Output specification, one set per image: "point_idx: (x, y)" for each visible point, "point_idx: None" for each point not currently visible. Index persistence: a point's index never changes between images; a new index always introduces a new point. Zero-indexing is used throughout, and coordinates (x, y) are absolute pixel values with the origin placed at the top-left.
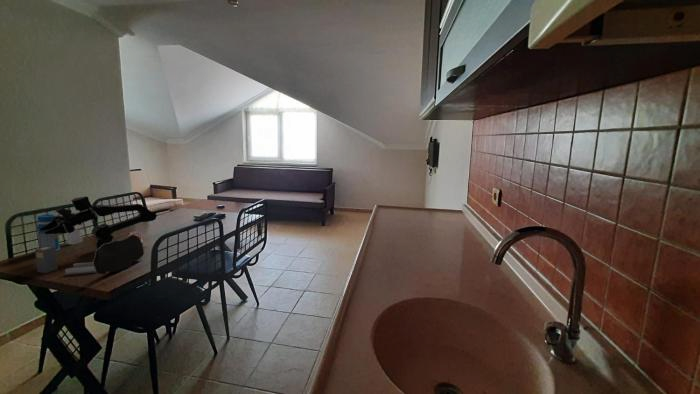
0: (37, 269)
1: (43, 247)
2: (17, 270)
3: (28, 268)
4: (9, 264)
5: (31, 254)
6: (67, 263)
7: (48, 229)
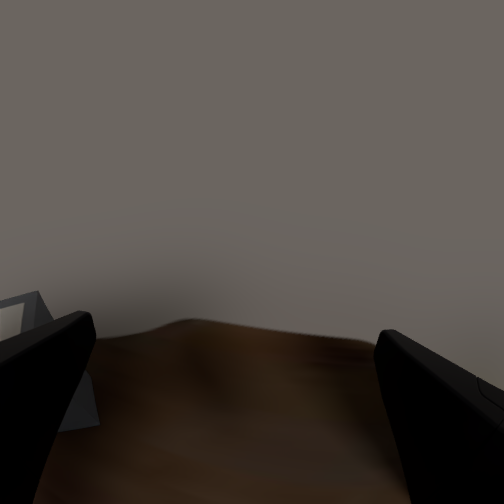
0: (85, 370)
1: (28, 326)
2: (189, 346)
3: (178, 378)
4: (316, 345)
5: None
6: (92, 499)
7: (395, 436)
